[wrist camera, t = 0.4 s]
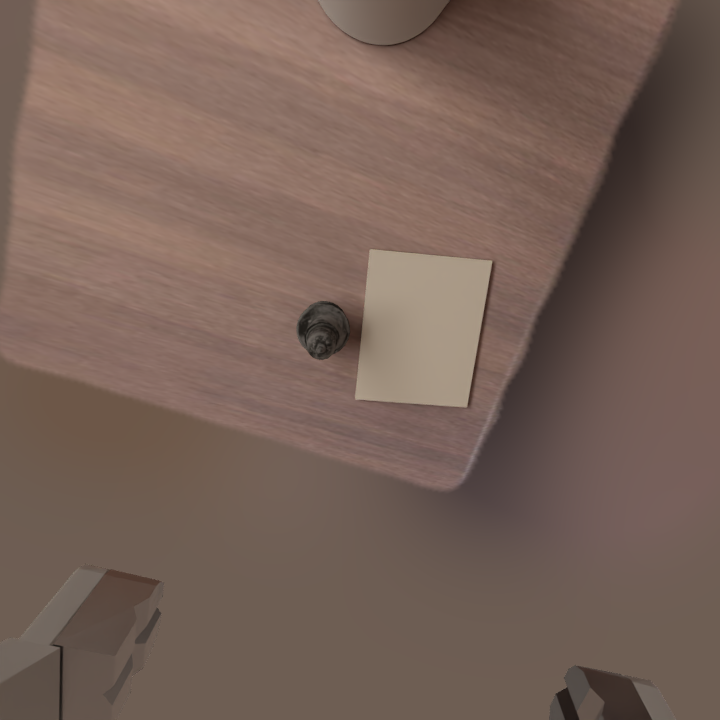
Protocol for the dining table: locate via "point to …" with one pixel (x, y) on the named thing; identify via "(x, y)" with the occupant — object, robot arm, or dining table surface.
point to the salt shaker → (323, 329)
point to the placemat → (420, 327)
